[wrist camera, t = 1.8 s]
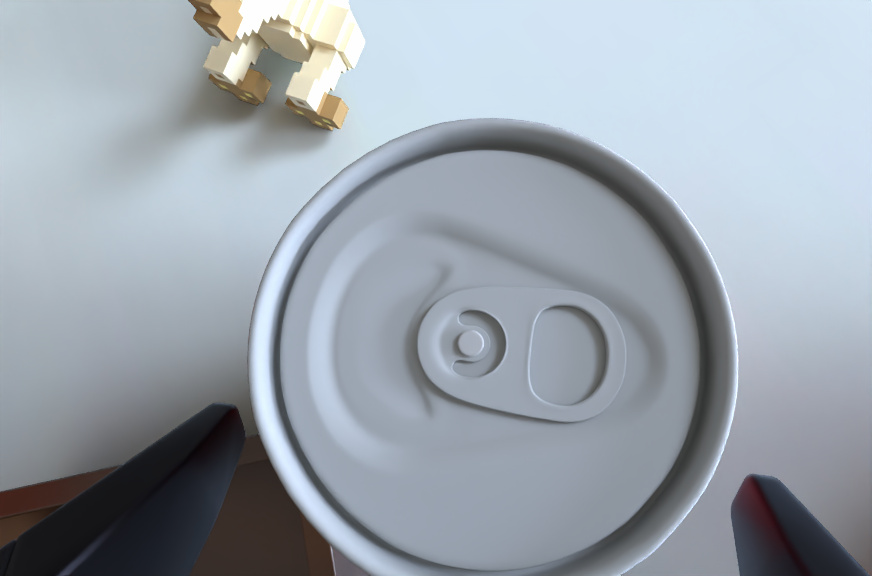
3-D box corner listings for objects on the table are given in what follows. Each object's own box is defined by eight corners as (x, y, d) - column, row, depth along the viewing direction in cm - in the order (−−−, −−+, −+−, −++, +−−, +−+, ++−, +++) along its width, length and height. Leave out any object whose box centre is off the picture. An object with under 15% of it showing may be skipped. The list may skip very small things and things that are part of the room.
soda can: (410, 269, 20) (257, 72, 8) (601, 289, 19) (786, 98, 7) (382, 459, 19) (150, 592, 7) (586, 491, 18) (777, 721, 6)
